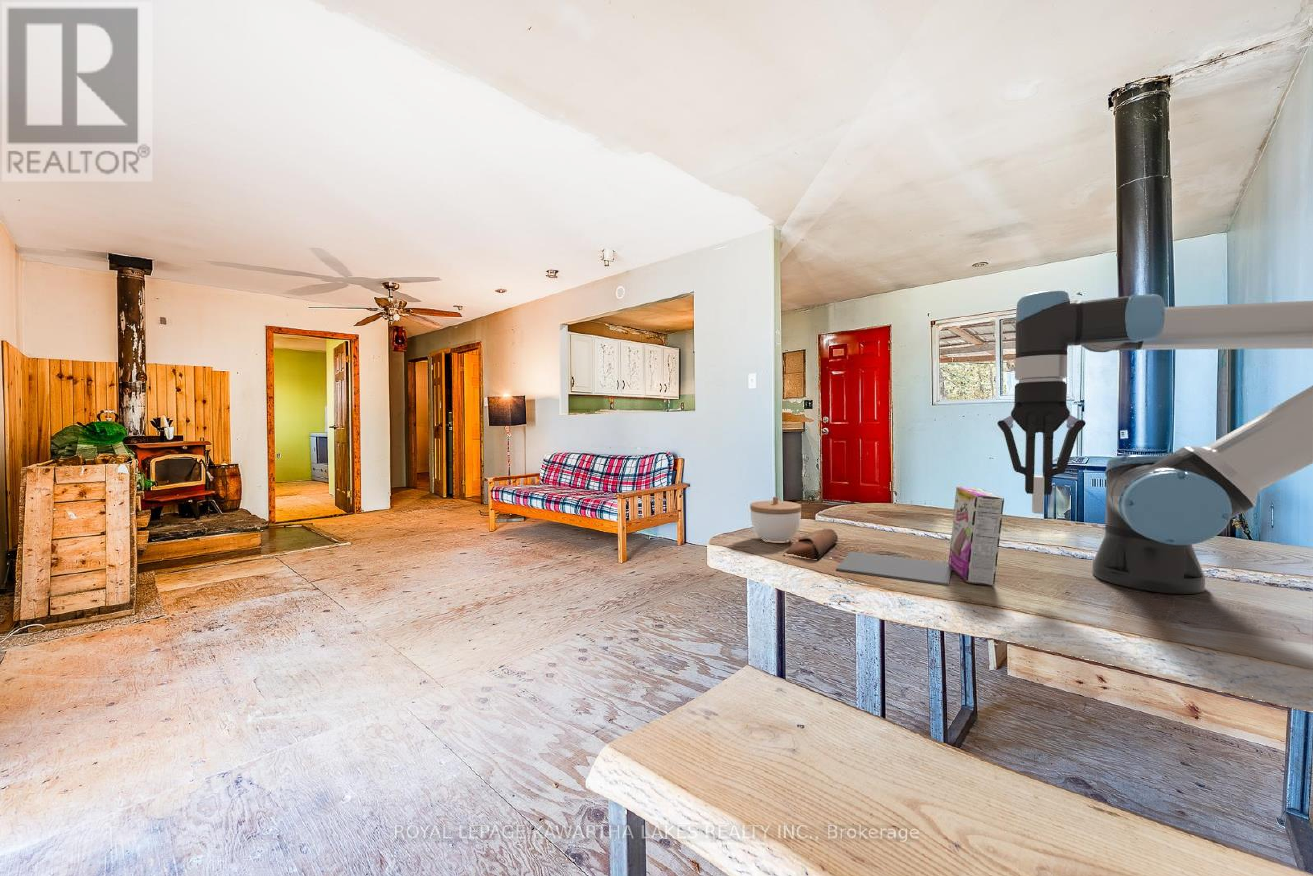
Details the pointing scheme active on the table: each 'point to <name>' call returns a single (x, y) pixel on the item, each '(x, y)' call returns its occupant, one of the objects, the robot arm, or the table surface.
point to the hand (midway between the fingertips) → (1037, 512)
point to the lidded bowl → (775, 519)
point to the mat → (897, 567)
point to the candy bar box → (976, 535)
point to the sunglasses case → (814, 544)
